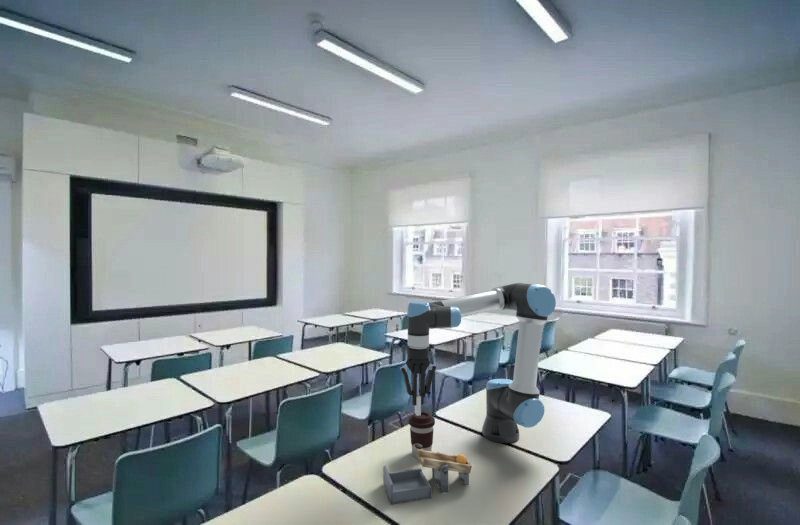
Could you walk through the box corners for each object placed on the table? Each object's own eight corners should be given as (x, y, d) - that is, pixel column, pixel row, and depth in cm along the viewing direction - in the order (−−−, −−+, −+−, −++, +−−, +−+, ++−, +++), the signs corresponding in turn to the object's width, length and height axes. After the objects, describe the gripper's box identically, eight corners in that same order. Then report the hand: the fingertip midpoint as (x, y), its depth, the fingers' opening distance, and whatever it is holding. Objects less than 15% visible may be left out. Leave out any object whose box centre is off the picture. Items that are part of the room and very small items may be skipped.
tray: (421, 478, 127) (421, 460, 127) (431, 497, 117) (431, 478, 117) (383, 483, 124) (383, 465, 124) (390, 504, 114) (390, 484, 114)
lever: (454, 452, 136) (455, 446, 136) (470, 473, 123) (472, 466, 123) (411, 446, 132) (412, 439, 132) (422, 466, 119) (424, 459, 119)
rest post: (462, 476, 128) (462, 465, 128) (469, 484, 124) (469, 473, 124) (458, 477, 128) (458, 465, 128) (464, 485, 123) (464, 473, 123)
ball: (462, 462, 128) (465, 452, 128) (466, 468, 124) (469, 457, 124) (453, 461, 127) (455, 451, 127) (457, 467, 123) (460, 456, 124)
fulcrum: (438, 475, 129) (438, 451, 129) (449, 493, 119) (448, 466, 119) (431, 476, 128) (431, 452, 128) (441, 494, 119) (441, 467, 119)
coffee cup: (433, 462, 137) (433, 421, 137) (406, 459, 139) (406, 419, 139) (436, 449, 147) (436, 410, 147) (411, 446, 149) (411, 408, 149)
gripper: (432, 343, 136) (431, 408, 137) (397, 344, 133) (397, 411, 133) (439, 347, 129) (439, 416, 129) (402, 349, 126) (402, 420, 126)
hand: (417, 413), depth 131 cm, fingers closed
